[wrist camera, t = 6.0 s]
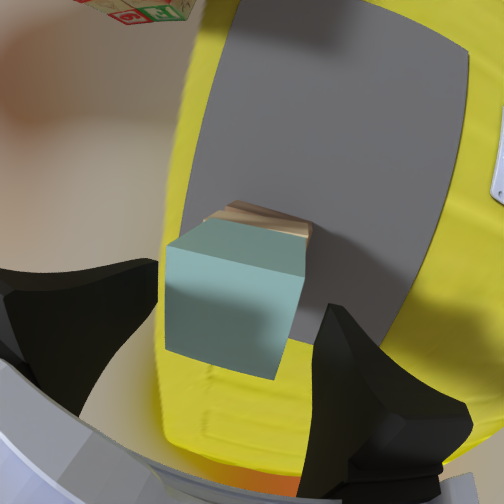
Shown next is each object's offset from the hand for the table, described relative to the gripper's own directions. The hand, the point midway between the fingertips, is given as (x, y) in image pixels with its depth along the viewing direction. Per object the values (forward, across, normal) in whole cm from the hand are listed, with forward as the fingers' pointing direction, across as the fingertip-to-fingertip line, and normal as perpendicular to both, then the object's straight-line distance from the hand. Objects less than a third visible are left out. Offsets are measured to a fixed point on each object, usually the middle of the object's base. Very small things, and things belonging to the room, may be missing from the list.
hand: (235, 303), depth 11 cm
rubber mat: (+8, -3, -6) cm, 11 cm away
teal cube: (+3, 0, 0) cm, 3 cm away
